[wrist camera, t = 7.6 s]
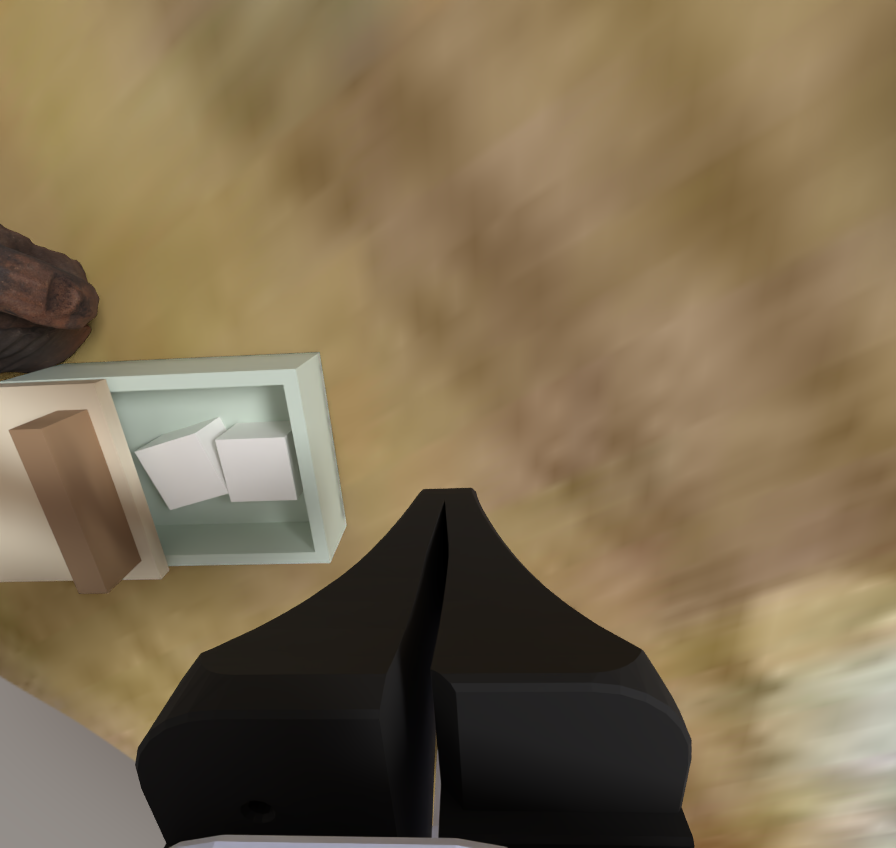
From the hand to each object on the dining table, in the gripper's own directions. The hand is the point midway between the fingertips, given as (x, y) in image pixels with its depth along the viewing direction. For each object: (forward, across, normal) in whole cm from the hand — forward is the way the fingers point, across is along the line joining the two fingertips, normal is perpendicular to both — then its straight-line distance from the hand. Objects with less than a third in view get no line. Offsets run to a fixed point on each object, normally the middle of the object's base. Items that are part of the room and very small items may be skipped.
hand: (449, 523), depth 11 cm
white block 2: (+9, +9, +2) cm, 13 cm away
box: (+10, +12, +2) cm, 16 cm away
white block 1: (+9, +12, +2) cm, 15 cm away
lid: (+7, +19, +2) cm, 21 cm away
